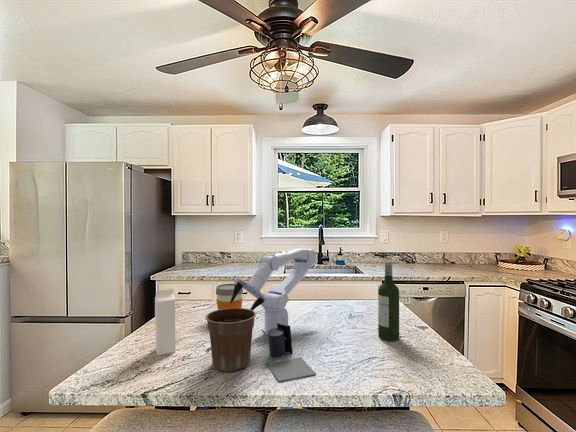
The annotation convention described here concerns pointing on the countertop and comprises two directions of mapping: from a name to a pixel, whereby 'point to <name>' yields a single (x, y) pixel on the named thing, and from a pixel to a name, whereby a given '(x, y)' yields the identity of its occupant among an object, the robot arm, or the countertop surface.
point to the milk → (165, 322)
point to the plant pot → (230, 337)
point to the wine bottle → (388, 307)
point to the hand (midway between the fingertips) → (239, 308)
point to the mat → (290, 369)
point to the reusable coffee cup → (228, 297)
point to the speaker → (280, 341)
